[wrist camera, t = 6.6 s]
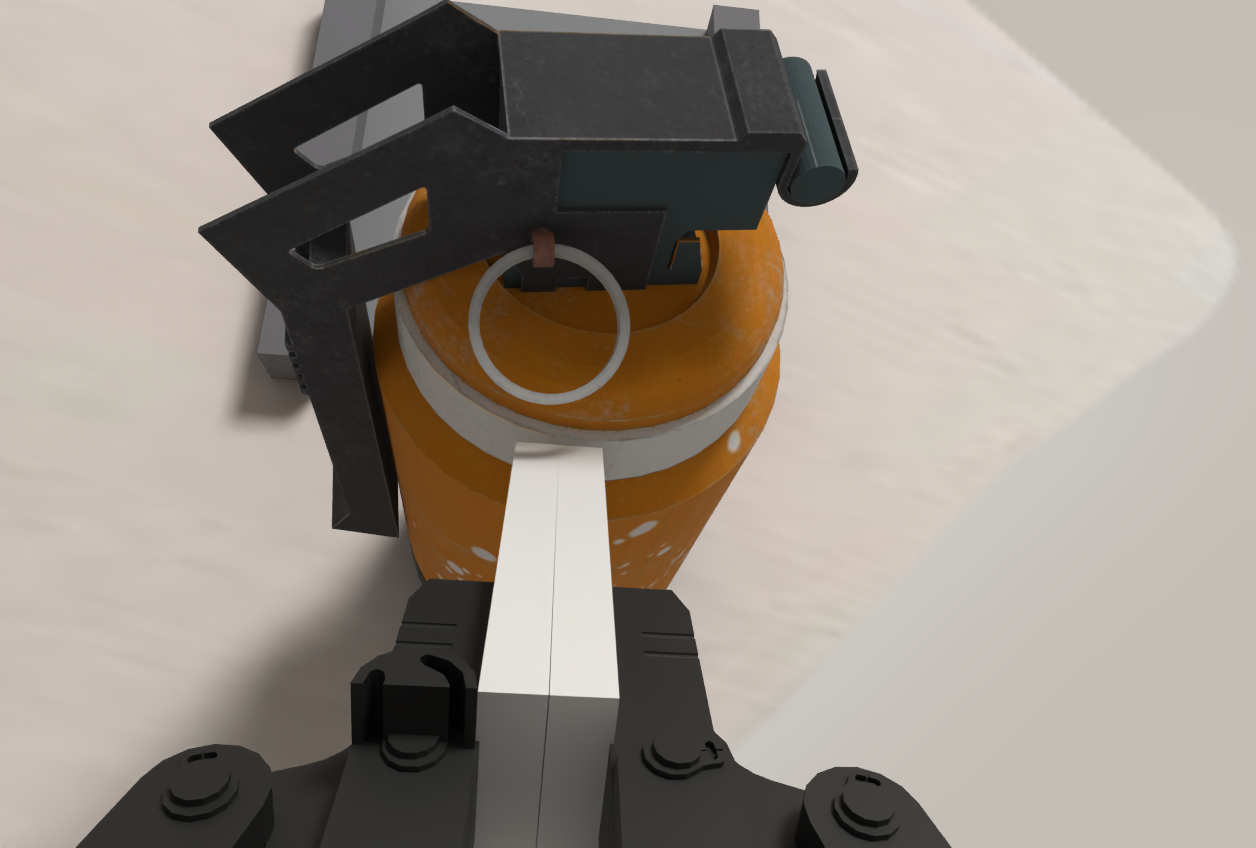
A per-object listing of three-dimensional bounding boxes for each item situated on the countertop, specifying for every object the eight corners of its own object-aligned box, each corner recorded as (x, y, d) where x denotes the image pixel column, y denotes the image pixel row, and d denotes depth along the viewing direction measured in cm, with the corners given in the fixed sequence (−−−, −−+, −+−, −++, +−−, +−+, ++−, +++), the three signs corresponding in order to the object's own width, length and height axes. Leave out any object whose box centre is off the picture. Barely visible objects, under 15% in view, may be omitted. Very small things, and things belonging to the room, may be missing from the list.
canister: (693, 651, 30) (1002, 298, 12) (346, 687, 28) (111, 323, 10) (654, 413, 34) (842, -112, 16) (348, 429, 31) (183, -155, 14)
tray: (271, 377, 32) (256, 353, 30) (341, -1, 39) (332, -40, 37) (761, 410, 34) (775, 389, 32) (747, 45, 41) (759, 10, 39)
